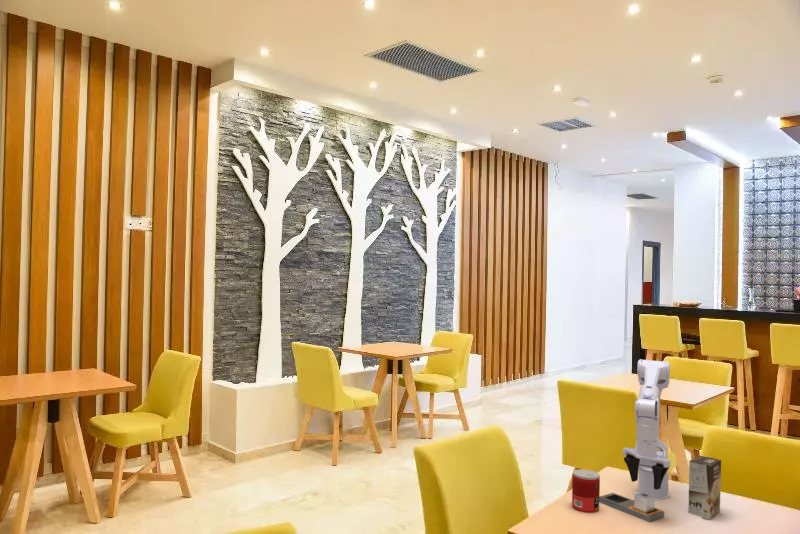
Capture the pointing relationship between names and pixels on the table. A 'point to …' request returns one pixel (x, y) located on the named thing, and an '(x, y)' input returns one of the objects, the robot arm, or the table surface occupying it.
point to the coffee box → (704, 487)
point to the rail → (629, 507)
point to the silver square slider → (644, 502)
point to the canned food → (585, 490)
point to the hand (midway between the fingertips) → (645, 484)
